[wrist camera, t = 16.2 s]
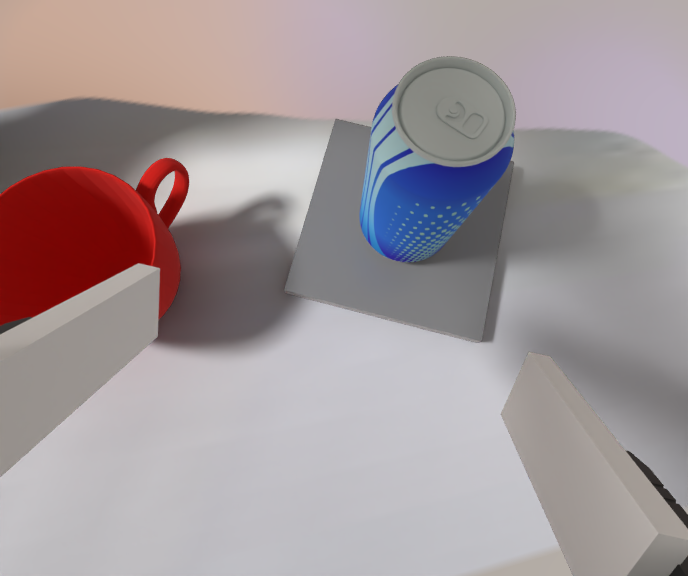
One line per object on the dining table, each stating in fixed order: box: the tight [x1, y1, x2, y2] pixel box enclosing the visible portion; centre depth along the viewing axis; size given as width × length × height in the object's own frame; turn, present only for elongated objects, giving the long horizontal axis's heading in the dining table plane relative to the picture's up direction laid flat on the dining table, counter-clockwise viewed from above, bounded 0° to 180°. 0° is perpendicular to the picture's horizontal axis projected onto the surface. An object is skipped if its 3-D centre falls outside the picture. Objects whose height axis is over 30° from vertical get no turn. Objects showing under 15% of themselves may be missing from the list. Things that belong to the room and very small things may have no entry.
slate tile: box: [284, 119, 514, 343], centre depth 37 cm, size 18×18×2 cm
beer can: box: [359, 56, 516, 262], centre depth 28 cm, size 8×8×16 cm
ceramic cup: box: [0, 158, 189, 326], centre depth 31 cm, size 13×17×10 cm
